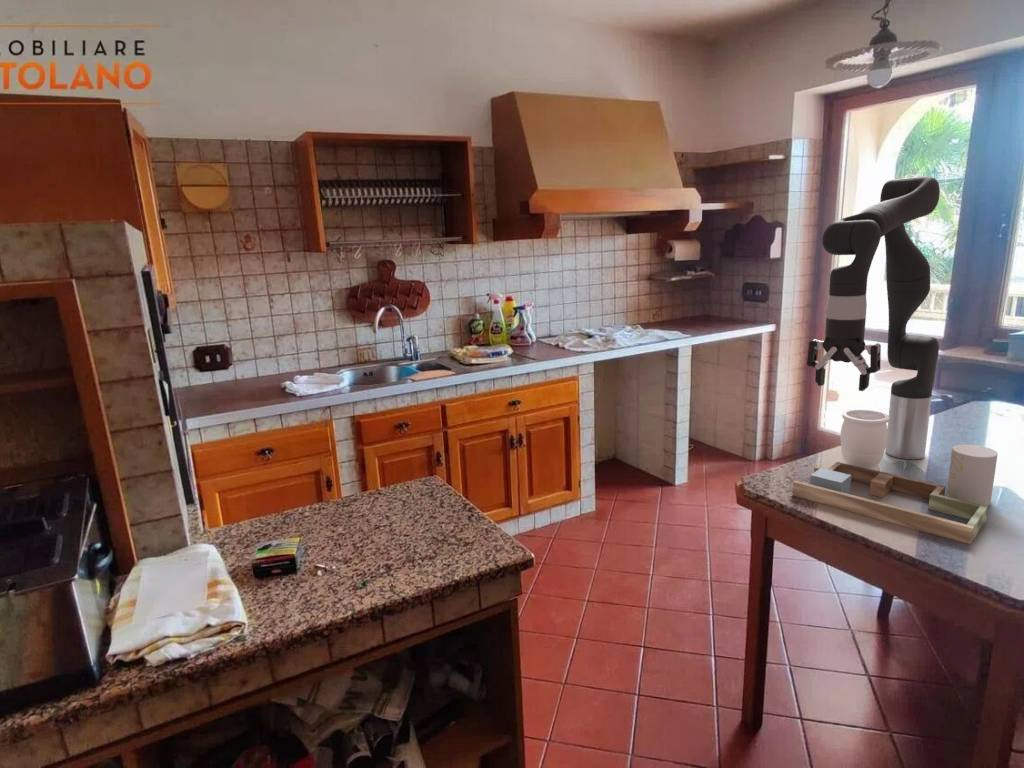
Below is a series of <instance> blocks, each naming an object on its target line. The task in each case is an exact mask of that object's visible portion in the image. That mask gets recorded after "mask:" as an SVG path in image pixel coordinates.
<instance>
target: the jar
mask: <svg viewBox="0 0 1024 768" xmlns="http://www.w3.org/2000/svg"><path fill="white" fill-rule="evenodd" d="M841 417H842V419H843V422H842V424H841V429H840V438H839V439H840V447H841V454H842V455H841V456H842V457H843V459H844V462H843V463H844V464H849V465H853V466H858V467H862V468H867V469H871V470H876V471H880V472H881V470H880V469H881V468H880V466H879V464H880V463H881V461H882V460H883V457H884V455H885V449H886V445H887V439H888V430H887V429H888V421H889V418H890V417H889V414H886V413H884V412H880V411H878V410H877V411H876V410H871V409H850V410H845V411H843V412H842V415H841Z"/></svg>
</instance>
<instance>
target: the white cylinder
mask: <svg viewBox="0 0 1024 768" xmlns="http://www.w3.org/2000/svg"><path fill="white" fill-rule="evenodd" d="M997 460H998V451H996V450H995V449H992V448H990V447H986V446H982V445H976V444H968V443H967V444H956V445H954V446H952V448H951V457H950V464H949V471H948V481H947V486H946V487H947V489H946V495H945V496H947V497H951V498H955V499H960V500H964V501H968V502H972V503H977V504H981V505H985V506H988V507H989V506H991V504H992V503H991V502H992V498H993V497H992V496H993V495H992V494H993V489H994V482H995V481H994V480H995V475H996V468H997Z"/></svg>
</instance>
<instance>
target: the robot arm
mask: <svg viewBox="0 0 1024 768" xmlns="http://www.w3.org/2000/svg"><path fill="white" fill-rule="evenodd" d="M940 189H941V188H940V184H939V181H938V180H937V179H936V178H935V177H933V176H924V175H923V176H922V175H921V176H911V177H902V178H894V179H890V180H887V181H886V182H884V184H883V185H882V189H881V192H880V197H879V198H880V201H879V202H877V203H874V204H872V205H870V206H868V207H867V208H865V209H863V210H862V211H860V212H859V213H856V214H852V215H849V216H845V217H843V218H840V219H837V220H835V221H833V222H832V223H830V224H829V225H828V226H827V227H826V229H825V230H824V232H823V234H822V239H821V241H822V246H823V249H824V250H825V251H826V252H827V253H828V254H830V255H833V256H855V257H854V259H853V261H852V262H851V263H850V264H848V265H843V266H837V267H834V268H833V269H832V270H831V272H830V275H829V287H828V297H827V305H826V311H825V315H826V316H825V317H826V318H825V331H824V336H825V338H824V340H819V339H818V338H815V339H812V340H810V341H809V343H808V350H807V359H806V365H807V366H808V367H812V368H814V369H815V380H814V381H815V383H816V384H817V386H819V387H822V386H824V385H825V381H826V380H825V379H826V368H825V367H826V365H827V364H828V363H829V362H831V361H833V362H843V363H846V364H847V363H852V365H854V367H856V368H857V370H858V371H859V372H860V374H859V379H858V382H859V383H858V391H860V392H864V391H865V390H866V389H868V388H869V385H870V377H871V376H870V375H871V374H875V373H876V372H878V371H880V370H881V360H882V359H881V354H882V353H881V352H882V349H881V347H882V346H881V344H880V343H879V342H878V343H874V344H866V342H865V332H866V331H865V330H866V322H867V321H866V318H867V306H868V305H867V289H868V288H867V287H868V278H869V272H870V269H871V266H872V263H873V260H874V257H875V255H876V252H877V249H878V247H879V244H880V241H881V238H882V237H884V243H885V244H884V245H885V261H886V262H885V264H886V265H885V267H886V268H885V269H886V271H885V273H886V292H887V293H886V295H887V306H888V308H887V309H888V331H887V351H886V353H887V362H888V364H889V365H890V367H892V368H894V369H898V370H899V369H900V370H907V371H908V370H909V371H916V376H914V377H911V378H907V379H899V380H897V381H893V383H892V384H891V387H890V388H891V389H890V398H889V399H890V400H889V408H888V416H889V417H890V418H889V421H888V422H887V430H888V439H887V445H886V448H885V451H884V453H886V454H887V455H888V456H891V457H894V458H899V459H901V460H902V459H905V460H919V459H920V460H921V459H923V458H925V457H926V456H925V455H926V448H927V439H928V431H929V423H930V413H931V406H932V405H931V404H932V394H933V388H934V382H935V374H936V370H937V363H938V358H939V353H940V344H939V341H938V339H937V338H935V337H933V336H926V335H925V336H923V335H911V334H907V332H906V330H907V325H908V323H909V321H910V319H911V318H912V316H913V314H914V313H915V312H916V311H917V310H918V309H919V307H921V305H922V304H923V302H924V301H925V300H926V299H927V297H928V295H929V293H930V291H931V266H930V263H929V262H928V259H927V258H926V256H925V255H924V254H923V252H922V251H921V250H920V249H919V247H917V245H916V244H915V243H914V242H913V240H912V239H911V238H910V236H909V235H908V233H907V229H906V227H905V224H907V223H908V222H911V221H914V220H916V219H919V218H922V217H926V216H929V215H930V214H932V213H933V212H934V211H935V210H936V208H937V206H938V203H939V199H940V195H941V194H940V191H941V190H940ZM821 348H823V349H824V351H825V352H826V353H825V354H824V355H823V356H822V358H820V360H819V361H818V354H819V350H820V349H821ZM865 350H866V351H867V354H868V355H870V356H869V357H870V360H869V361H870V365H868V363H867V361H866V358H864V356H863V355H862V353H863V352H864V351H865Z"/></svg>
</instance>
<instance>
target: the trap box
mask: <svg viewBox="0 0 1024 768" xmlns="http://www.w3.org/2000/svg"><path fill="white" fill-rule="evenodd" d="M820 468H824V469H828V470H832V471H836V472H841V473H845V474H849V475H851V481H854V482H858V483H863V484H868V485H869V495H872V496H876V497H880V498H886V496H887V495H888V494H889V493H891V492H892V490H893V491H896V492H899V493H904V494H908V495H914V496H918V497H921V498H926V499H929V500H928V508H927V509H928V510H932V511H935V512H937V513H939V512H940V513H943V514H947V515H951V516H955V517H959V518H963V519H965V520H966V519H967V520H969V521H968V522H967V524H966V523H962V522H958V521H954V520H951V519H947V518H943V517H939V516H935V515H931V514H927V513H924V512H921V511H916V510H912V509H908V508H903V507H900V506H896V505H892V504H889V503H885V502H880V501H877V500H872V499H870V498H869V499H868V498H865V497H862V496H857V495H855V494H854V495H853V494H851V493H850V494H846V493H842V492H838V491H834V490H831V489H827V488H823V487H819V486H815V485H811V484H810V483H807V482H802V481H799V480H794V481H793V483H792V484H793V485H792V496H794V497H797V498H800V499H805V500H809V501H812V502H814V503H815V502H816V503H820V504H822V505H825V506H830V507H833V508H837V509H841V510H845V511H849V512H851V513H854V514H859V515H862V516H866V517H870V518H874V519H878V520H881V521H884V522H887V523H891V524H896V525H899V526H902V527H906V528H909V529H913V530H916V531H921V532H923V533H924V532H925V533H928V534H932V535H935V536H939V537H941V538H942V537H943V538H944V539H945V538H946V539H949V540H953V541H957V542H960V543H964V544H968V545H971V544H972V543H973V541H974V539H976V536H977V535H978V533H980V531H981V530H982V528H983V527H984V525H985V524H986V522H987V516H988V510H989V506H985V505H981V504H977V503H972V502H968V501H964V500H960V499H955V498H951V497H947V496H946V495H945V494H946V493H945V492H946V485H943V484H939V483H933V482H929V481H924V480H920V479H916V478H911V477H906V476H902V475H897V474H893V473H888V472H883V471H881V470H880V471H876V470H871V469H867V468H862V467H858V466H853V465H849V464H844V462H840V461H836V462H835V463H834V464H832V465H831V466H829V467H828V468H826V467H821V466H817V465H816V466H814V469H813V473H814V472H816V471H817V470H819V469H820Z"/></svg>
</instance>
